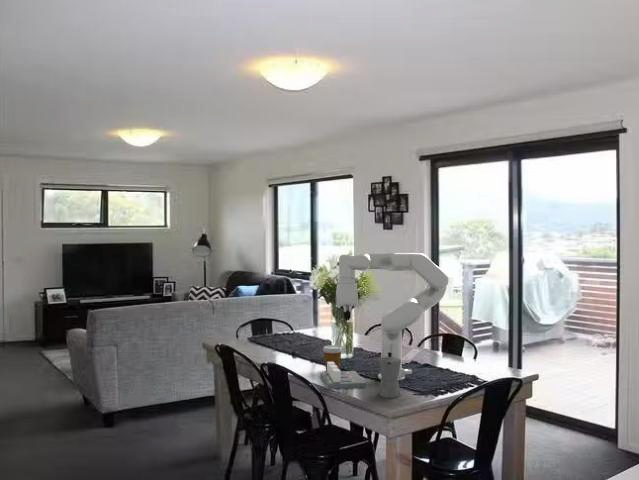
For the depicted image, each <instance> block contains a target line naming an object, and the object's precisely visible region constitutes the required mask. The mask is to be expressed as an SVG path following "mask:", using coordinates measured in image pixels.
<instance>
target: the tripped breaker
mask: <svg viewBox="0 0 639 480" xmlns="http://www.w3.org/2000/svg"><path fill="white" fill-rule="evenodd" d="M341 372H342V371H341V370H340V368H339V369H332V380H333V382H341Z"/></svg>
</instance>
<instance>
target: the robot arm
mask: <svg viewBox="0 0 639 480" xmlns="http://www.w3.org/2000/svg"><path fill="white" fill-rule="evenodd" d="M338 257H339V258H338V283H336V291H335V307H336V308H338V309H341V310H342V311H343V319H344V320H345V321H350V319H351V312H352V310H354V309H355V308H359V292H358V285H357V283H356V282H358V281H359V277H358V278H357V277H356V271H361V272H364V271H367V270H385V271H390V272H415V273H416V274H418V276H419V277H421V278H422V279H423V280H424V281H425V282H426V283H427V284H428V285H427V286H426V288H424V289H422V291H419V292H418V293H417V294H415V295H414V296H411V298H409V299H406V300H405V301H404V302H403V303H402V304H401V306H399V307H397V308H396V309H394V310H393V309H389V310H387V311H385V312H384V313H383V315H381V320H380V323H381V324H380V325H381V334H380V335H381V336H380V337H381V340H380V341H381V347H380V348H381V350H380V353H381V354H380V356H381V357H380V358H383V357H388V353H389V352H390V353H392V354H391V355H392V357H395V358H399V359H400V360H401V363H400V370H399V375H398V381H404V380H405V379H406V375H412V374H413V370H412V369H407V368H406V369H404V368H403V367H402V366H403V365H402V357H403V330H405V329H407V328H408V327H410V326H411V325H413V324H414V323H416V322H417V321H419V320H420V319H421V318H422V316H423V313H425V312H426V311H428V310H429V309H431V308H432V307H434V306H435V305H437V304H438V303H439V302H440V301H441V300H442V299H443V297H444V296H445V293H446V291H447V287H448V284H449V276H448V274H447V273H446V272H444V271H443V270H442V269H441V268H440V267H439V266H438V265H436V264H435V263H434V262H433V261H432V260H431V259H430V258H429V257H428V255H426V254H424V253H422V252H389V253H388V252H387V253H361V254H358V255H357V254H356V255H355V254H340V255H339V256H338ZM377 378H378V379H379V380H381V379H382V375H381V373H379V374H377Z"/></svg>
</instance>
